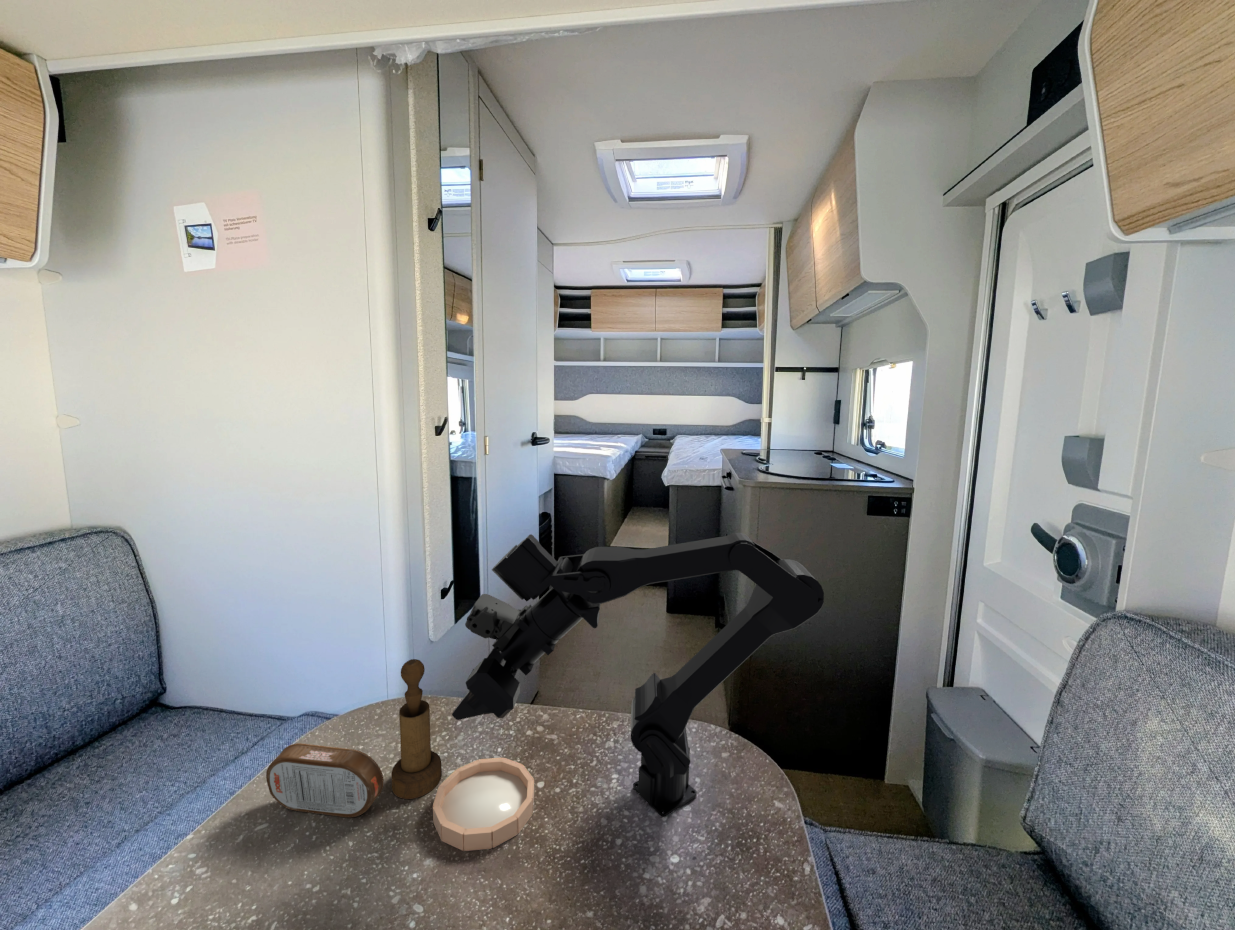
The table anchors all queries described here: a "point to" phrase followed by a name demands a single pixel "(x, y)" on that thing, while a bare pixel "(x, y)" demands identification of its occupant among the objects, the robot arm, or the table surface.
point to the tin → (324, 780)
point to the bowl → (483, 804)
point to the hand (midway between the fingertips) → (466, 695)
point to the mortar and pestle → (415, 740)
